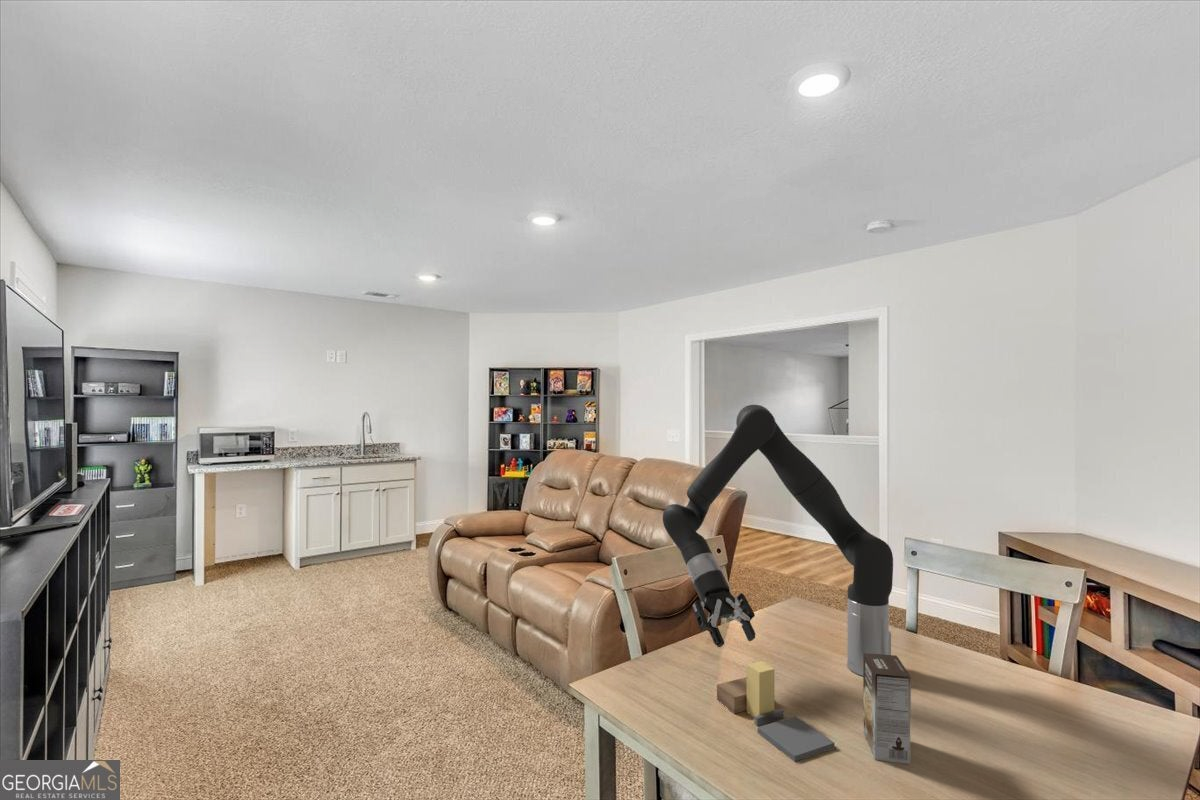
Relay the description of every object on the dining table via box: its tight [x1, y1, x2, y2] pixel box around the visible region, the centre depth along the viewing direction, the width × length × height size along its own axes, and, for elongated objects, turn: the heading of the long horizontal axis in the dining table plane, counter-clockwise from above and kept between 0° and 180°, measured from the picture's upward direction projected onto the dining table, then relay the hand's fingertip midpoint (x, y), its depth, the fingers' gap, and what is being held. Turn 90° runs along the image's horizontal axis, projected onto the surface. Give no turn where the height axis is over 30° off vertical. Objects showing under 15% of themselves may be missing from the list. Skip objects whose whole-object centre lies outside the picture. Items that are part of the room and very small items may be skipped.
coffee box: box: [862, 653, 912, 765], centre depth 107 cm, size 9×6×16 cm
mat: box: [757, 715, 836, 763], centre depth 109 cm, size 10×10×1 cm
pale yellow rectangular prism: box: [746, 660, 775, 717], centre depth 118 cm, size 4×4×10 cm
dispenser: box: [716, 676, 785, 727], centre depth 121 cm, size 10×11×4 cm
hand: (737, 642), depth 125 cm, fingers open, 8 cm apart
